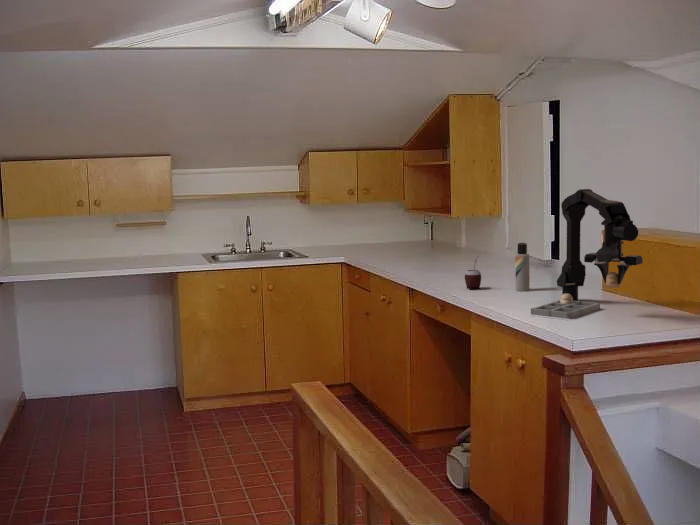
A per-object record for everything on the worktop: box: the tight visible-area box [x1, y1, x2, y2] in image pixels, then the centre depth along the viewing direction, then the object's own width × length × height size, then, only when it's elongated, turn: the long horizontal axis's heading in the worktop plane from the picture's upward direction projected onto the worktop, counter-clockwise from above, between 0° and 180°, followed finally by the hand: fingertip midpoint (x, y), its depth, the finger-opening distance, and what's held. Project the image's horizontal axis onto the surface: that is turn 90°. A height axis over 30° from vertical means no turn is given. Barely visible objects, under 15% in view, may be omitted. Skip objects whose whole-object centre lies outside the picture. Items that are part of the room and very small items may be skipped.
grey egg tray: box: [530, 299, 601, 321], centre depth 284 cm, size 22×15×3 cm
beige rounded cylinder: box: [559, 293, 573, 304], centre depth 292 cm, size 4×4×5 cm
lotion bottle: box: [514, 242, 530, 292], centre depth 335 cm, size 6×6×20 cm
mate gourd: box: [464, 255, 482, 291], centre depth 343 cm, size 8×8×15 cm
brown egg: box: [605, 271, 620, 289], centre depth 277 cm, size 4×4×5 cm
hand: (612, 283), depth 277 cm, fingers closed on brown egg, 4 cm apart
